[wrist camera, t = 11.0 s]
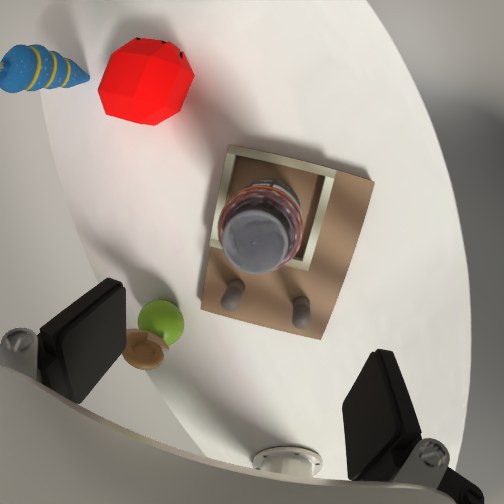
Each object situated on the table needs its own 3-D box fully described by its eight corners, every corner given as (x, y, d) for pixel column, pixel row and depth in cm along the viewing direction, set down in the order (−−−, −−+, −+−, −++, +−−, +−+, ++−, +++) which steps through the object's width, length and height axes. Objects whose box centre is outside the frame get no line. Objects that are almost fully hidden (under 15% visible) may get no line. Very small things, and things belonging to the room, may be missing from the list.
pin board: (320, 334, 33) (322, 359, 28) (203, 304, 34) (190, 326, 29) (371, 180, 26) (385, 186, 22) (232, 145, 27) (220, 143, 23)
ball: (208, 62, 25) (181, 37, 18) (180, 132, 28) (145, 127, 21) (145, 50, 25) (108, 29, 18) (120, 114, 28) (77, 109, 21)
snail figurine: (146, 282, 34) (90, 336, 23) (194, 302, 34) (152, 367, 23) (140, 316, 36) (92, 373, 25) (185, 336, 36) (146, 402, 24)
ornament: (110, 71, 26) (14, 46, 12) (87, 106, 28) (-11, 101, 14) (88, 55, 26) (-2, 31, 11) (67, 89, 27) (-25, 80, 13)
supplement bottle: (259, 249, 29) (237, 305, 19) (226, 198, 28) (184, 227, 17) (312, 220, 27) (322, 262, 17) (280, 165, 26) (269, 173, 16)
